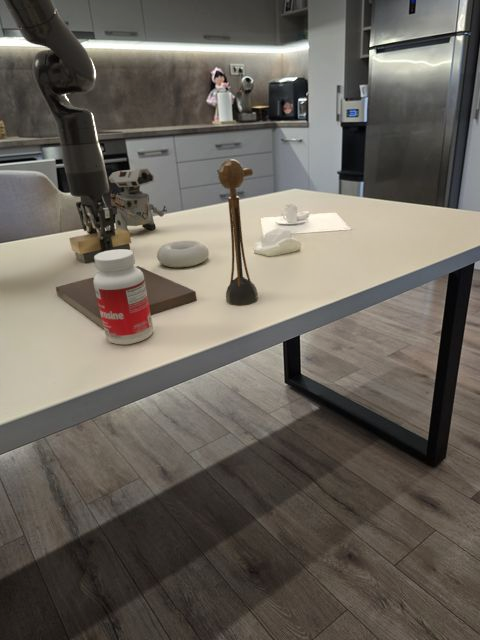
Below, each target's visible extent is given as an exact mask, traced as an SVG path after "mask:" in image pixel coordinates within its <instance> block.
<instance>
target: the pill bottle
mask: <svg viewBox="0 0 480 640" xmlns="http://www.w3.org/2000/svg"><path fill="white" fill-rule="evenodd" d="M94 260H95V261H94V265H95V267H96V269H97V270H98V272H97V273H96V274H95V275H94V276H93V277H94V280H93V282H94V288H95V292H96V296H97V301H98V305H99V310H100V314H101V318H102V323H103V327H104V329H103V331H104V336H105V338H106V340H107V341H108V342H110V343H112V344H115V345H132V344H137V343H139V342H142V341H145V340H147V339H148V338H149V337H150V336H151V335H153V331H154V325H153V320H152V315H151V314H150V308H149V303H148V297H147V291H146V286H145V279H144V275H143V273H142V271H141V270H140V269H138V268H136V266H135V264H136V260H135V254H134V252H133V250H131V249H130V250H126V249H118V250H109V251H104V252H101V253H98V254H96V255H95V256H94Z"/></svg>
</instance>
